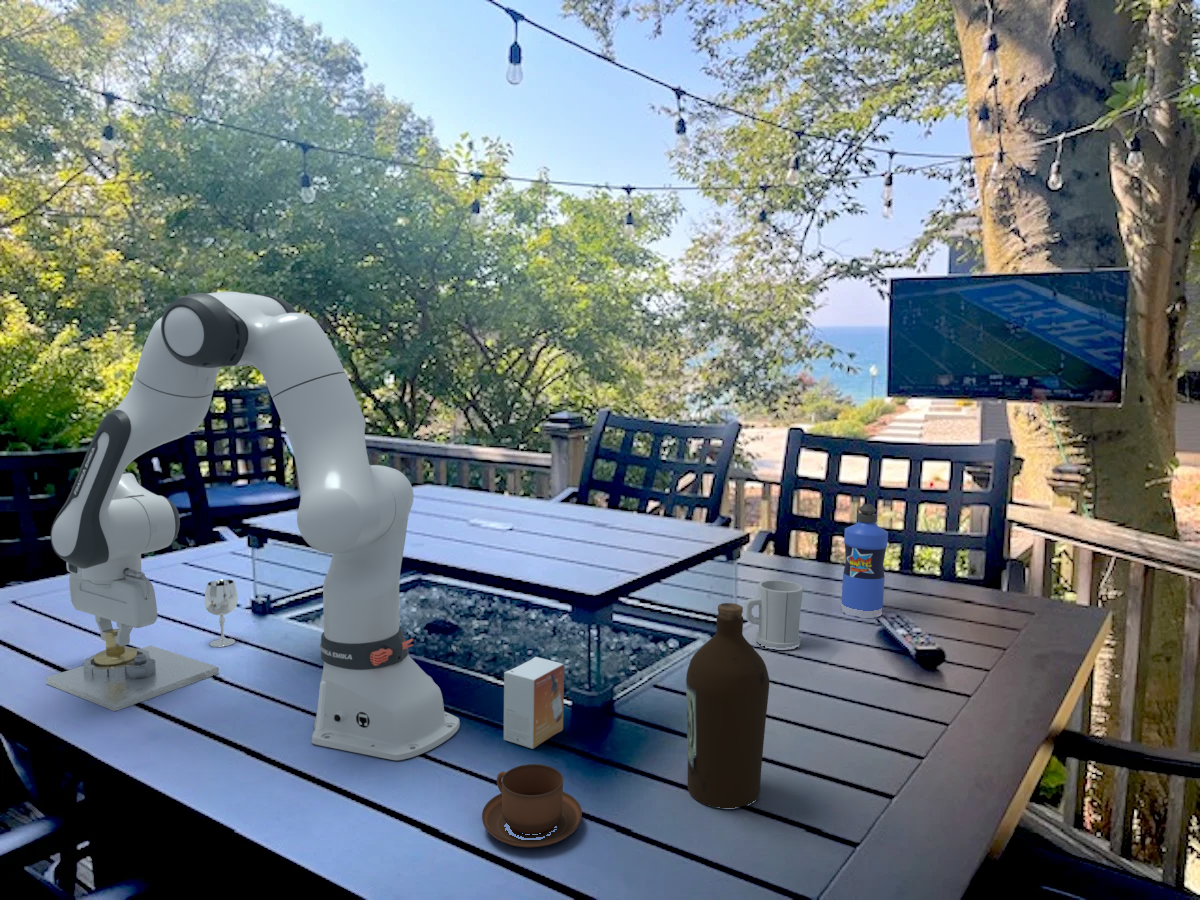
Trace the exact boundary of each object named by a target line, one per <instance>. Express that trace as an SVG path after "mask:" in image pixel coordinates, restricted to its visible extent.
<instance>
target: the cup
mask: <svg viewBox="0 0 1200 900" xmlns="http://www.w3.org/2000/svg"><path fill="white" fill-rule="evenodd" d="M803 592H804V587H803V586H802V584H799V583H797V582H794V581H789V580H781V579H780V580H779V579H771V580H770V579H769V580H761V581H760V582H759V583H758V584H757V593H758V595H757V597H750V598H747V599H746V601H745V602H744V608H745V609H744V610H745V612H744V613H745V619H746V620H747V621H748V622H749V623H751V624H752V625H758V632H757V633H756V635H755V642H756V643H757V642H758V643H759V644H761V645H764V646H767V647H776V648H786V647H792V646H795V645H798V644H799V643H800V641H801V640H802V639H801V636H800V635H799V633H800V620H801V611H802V610H801V609H802V601H803V595H804V593H803ZM756 606H758V617H755V616H754V615H753V614H752V613H753V612H752V611H753V610H752V609H754V607H756ZM758 643H757V644H758ZM759 644H758V645H759ZM761 645H760V646H761Z"/></svg>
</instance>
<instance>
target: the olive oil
mask: <svg viewBox="0 0 1200 900" xmlns="http://www.w3.org/2000/svg"><path fill="white" fill-rule="evenodd" d="M743 608H744V607H743V606H742V605H740V604H738V603H732V602H722V603H720V604H718V605H717V613H718V614H717V615H716V631H715V634H714V635H713V636H712V637H711V638H709V640H708V641H706V642H705V643H704V644H703V645H702V646H701V647H700V648H699V649H698V650H697V651H695V653H694V654H693V655H692V657H691V659H690V662H689V664H688V667H687V671H686V679H685V685H686V686H685V688H686V692H685V693H686V728H687V729H686V731H687V732H686V738H687V740H686V741H687V742H686V743H687V744H686V745H687V790H688V793H689V794H690V796H691V797H692V798H694V800H696V801H697V800H698V802H699V803H700V804H703V805H705V804H706V805H705V806H707V805H708V807H710V806H713V807H712V808H714V807H720V808H735V807H741V806H745V805H748V804H750V803H752V802H753V801H755V800H756V799H757V798H758V796H759V797H760V794H759V793H761V779H762V766H763V754H764V741H765V731H766V722H767V711H768V703H769V701H768V700H769V693H770V692H769V691H770V677H769V672H768V669H767V665H766V662H765V661H764V659H763V658H762V656H761V655H760V654H759V653H758V652H757V650H756V649H755V648H754V647H753V646H752V645H751V643H750V642H749V641H748V640H747V639H746V638H745V637H744V635H743V629H744V627H743V626H744V616H743V612H744V611H743V610H744V609H743ZM758 799H759V798H758ZM758 799H757V800H758ZM709 805H710V806H709Z"/></svg>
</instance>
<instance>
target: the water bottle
mask: <svg viewBox="0 0 1200 900" xmlns="http://www.w3.org/2000/svg"><path fill="white" fill-rule="evenodd" d="M858 511H859V512H858V513H857V515H856V521H857V522H856V523H855V524H853V525H850V526H848V527H845V528H844V537H843V538H844V539H843V543H844V551H845V552H844V553H845V563H844V568H843V572H842V587H841V603H842V604H843V605H844V606H846V607H849V608H852V609H857V610H863V611H874V610H879V609H881V608H884V595H885V594H884V593H885V570H884V569H885V568H884V562H885V557H886V552H887V548H888V538H889V532H888V531H887V530H886V529H884V528H883V527H880V526H878V524H877V522H878V514H876V512H877V508H875V506H873V504H871V503H864V504H862V505H861V506H860V507H858ZM841 603H840V604H841Z"/></svg>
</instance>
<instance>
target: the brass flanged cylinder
mask: <svg viewBox="0 0 1200 900" xmlns="http://www.w3.org/2000/svg"><path fill="white" fill-rule="evenodd" d="M118 630H119V628H113V629H112V630H108V631H106V632H105V640H106V641H105V649H104V650H100V651H99V652H97V653H96V654H94V655H95V656H94V666H97V667H113V666H119V665H125V664H127V663H128V662H130V661H133V660H134V657H135V656H137V650H136V649H135V647H131V646H126V645H124V646H119V645H116V644H115V638H114V635H117V634H118Z"/></svg>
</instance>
